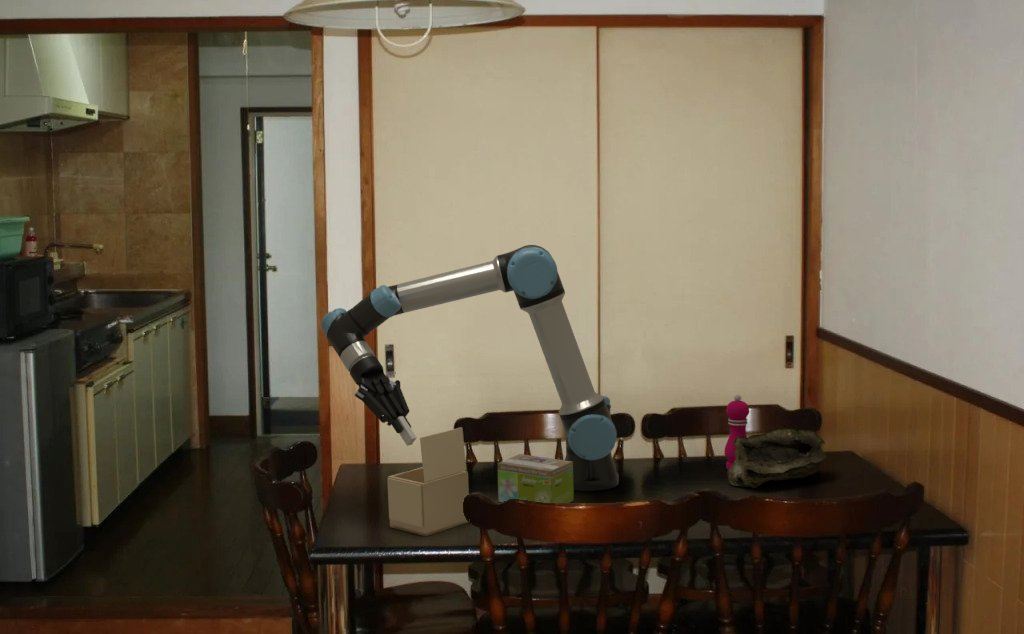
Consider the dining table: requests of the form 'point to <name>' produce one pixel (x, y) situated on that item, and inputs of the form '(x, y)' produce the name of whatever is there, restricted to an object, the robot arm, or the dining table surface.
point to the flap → (443, 454)
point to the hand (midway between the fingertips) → (411, 441)
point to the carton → (426, 502)
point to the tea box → (535, 479)
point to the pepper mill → (735, 426)
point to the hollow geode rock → (775, 456)
